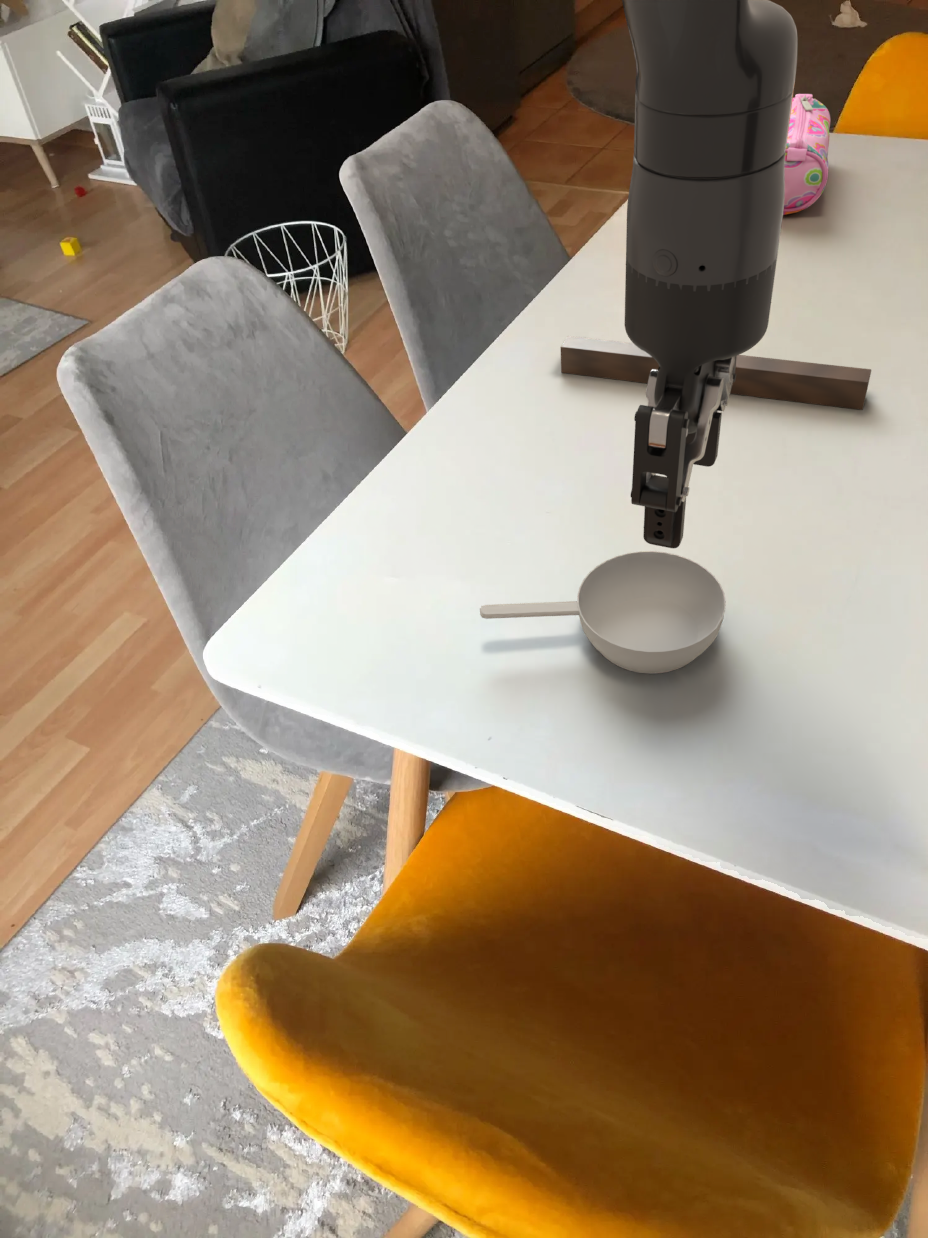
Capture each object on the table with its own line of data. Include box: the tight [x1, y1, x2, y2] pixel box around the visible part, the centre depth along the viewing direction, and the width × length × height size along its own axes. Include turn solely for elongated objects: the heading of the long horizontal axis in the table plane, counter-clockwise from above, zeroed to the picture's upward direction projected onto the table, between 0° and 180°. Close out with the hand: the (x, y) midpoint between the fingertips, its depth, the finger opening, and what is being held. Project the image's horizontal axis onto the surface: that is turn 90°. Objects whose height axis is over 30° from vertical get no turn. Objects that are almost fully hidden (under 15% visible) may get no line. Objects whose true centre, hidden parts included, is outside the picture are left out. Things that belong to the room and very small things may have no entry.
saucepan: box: [479, 550, 727, 674], centre depth 72 cm, size 11×18×4 cm, turn 91°
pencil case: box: [783, 93, 831, 216], centre depth 126 cm, size 21×9×9 cm, turn 163°
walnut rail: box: [560, 335, 872, 411], centre depth 96 cm, size 30×2×3 cm, turn 68°
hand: (681, 500), depth 60 cm, fingers open, 8 cm apart
